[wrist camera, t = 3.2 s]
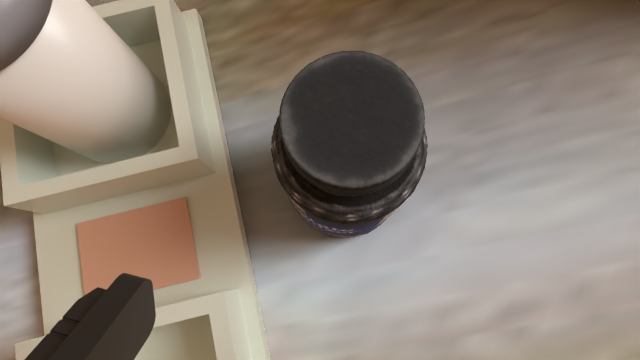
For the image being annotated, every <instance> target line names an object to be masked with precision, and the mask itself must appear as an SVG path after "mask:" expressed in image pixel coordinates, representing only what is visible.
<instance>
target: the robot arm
mask: <svg viewBox="0 0 640 360" xmlns="http://www.w3.org/2000/svg"><path fill="white" fill-rule="evenodd" d="M155 318H156V311H155V302H154V292H153V284H152V281H151V280H150V279H146V278H143V277H139V276H135V275H132V274H128V273H122V274H120V275H119V276H118V277H117V278H116V279H115V280H114V282H113V283H112V284H111V285H110V286H109V288H108V289H107V290H106V289H103V288H99V287H97V288H95V289H94V290H92V291H91V292H89V293H88V294H86V295H84V296H83V297H81V298H80V299H78V300H77V301H76V302H75V303H74V304H73V305H72V307H71V308H70V309H69V310H68V311H67V312H66V313H65V314H64V316H63V318H62V320H59V321H58V322H57V323H56V325H55V326H54V327H53V328H52V329H51V330H50V333H49V334H47V335H46V336H45V337H44V338H43V339H42V340H41V341H40V343H39V344H38V345H37V346H36V347H35V348H34V349H33V350H32V352H31V353H30V354H29V355H28V356H27V357H26V358H25V359H24V360H134V359H135V357H136V356H137V354H138V353H139V351H140V350H141V348H142V347H143V345H144V344H145V342H146V340H147V339H148V337H149V335H150V334H151V331H152V329H153V326H154V323H155Z"/></svg>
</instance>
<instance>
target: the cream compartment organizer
mask: <svg viewBox="0 0 640 360" xmlns="http://www.w3.org/2000/svg"><path fill="white" fill-rule="evenodd" d="M0 165H1V178H2V190H3V203H4V206H6V207H11V208H16V209H21V210H26V211H32V212H33V220H34V230H35V241H36V251H37V262H38V273H39V283H40V294H41V305H42V315H43V326H44V336H42V337H38V338H34V339H30V340H26V341H22V342H18V343H15V355H16V360H24V359H25V358H26V357H27V356H28V355H29V354H30V353H31V352H32V350H33V349H34V348H35V347H36V346H37V345H38V344H39V343H40V341H41V340H42V339H43V338H44V337H45V336H46V335H47V334H49V333H50V330H51V329H52V328H53V327H54V326H55V325H56V323H57V322H58V321H59V320H62V318H63V316H64V314H65V313H66V312H67V311H68V310H69V309H70V308H71V307H72V305H73V304H74V303H75V302H76V301H77V300H78V299H80V298H81V297H83V296H84V295H86V294H88V293H89V292H91V291H92V290H94V289H95V288H97V287H99V288H103V289H106V290H107V289H108V288H109V286H110V285H111V284H112V283H113V282H114V280H115V279H116V278H117V277H118V276H119V275H120V274H122V273H128V274H132V275H135V276H139V277H143V278H146V279H150V280H151V281H152V284H153V292H154V302H155V311H156V318H155V323H154V326H153V329H152V331H151V334H150V335H149V337H148V339H147V340H146V342H145V344H144V345H143V347H142V348H141V350H140V351H139V353H138V354H137V356H136V357H135V359H134V360H271V357H270V352H269V347H268V342H267V337H266V332H265V327H264V322H263V317H262V312H261V308H260V303H259V298H258V293H257V288H256V283H255V278H254V273H253V268H252V263H251V258H250V253H249V248H248V244H247V239H246V234H245V229H244V224H243V219H242V214H241V209H240V204H239V199H238V194H237V189H236V184H235V180H234V175H233V170H232V165H231V160H230V155H229V150H228V145H227V140H226V135H225V130H224V125H223V120H222V116H221V111H220V106H219V101H218V96H217V91H216V86H215V81H214V76H213V71H212V66H211V61H210V56H209V52H208V47H207V42H206V37H205V32H204V27H203V22H202V19H201V17H200V15H199V13H198V12H197V10H196V9H192V10H188V11H183V12H181V11H180V10H179V8H178V7H177V5H176V3H175V2H174V0H118V1H114V2H110V3H106V4H102V5H98V6H94V7H91V6H90V5H89V4H88V3H87V2H86V0H0Z"/></svg>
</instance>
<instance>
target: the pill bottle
mask: <svg viewBox="0 0 640 360" xmlns="http://www.w3.org/2000/svg"><path fill="white" fill-rule="evenodd" d="M424 120H425V116H424V107H423V103H422V100H421V97H420V95H419V92H418V90H417V88H416V87H415V85H414V83H413V82H412V80H411V79H410V78H409V77H408V76H407V75H406V73H405V72H404V71H403V70H402V69H401V68H399V67H398V66H397V65H395V64H394V63H392V62H391V61H389V60H387V59H385V58H383V57H381V56H378V55H375V54H372V53H367V52H362V51H342V52H337V53H332V54H329V55H326V56H323V57H321V58H319V59H317V60H315V61H314V62H311V63H310V64H308V65H307V66H306V67H305V68H304V69H302V70H301V71H300V72H299V73H298V74H297V75H296V76H295V77H294V79H293V80H292V82H291V83H290V84H289V86H288V88H287V90H286V92H285V94H284V97H283V99H282V103H281V107H280V115H279V116H278V118H277V122H276V124H275V126H274V131H273V136H272V149H271V152H272V157H273V163H274V167H275V171H276V174H277V177H278V179H279V181H280V183H281V185H282V186H283V188H284V190H285V191H286V193H287V194H288V196H289V198H290V199H291V201H292V202H293V204H294V206H295V207H296V209H297V211H298V212H299V214H300V215H301V216H302V217H303V219H304V220H305V221H306V222H307V223H308V224H309V225H311V226H312V227H313V228H315V229H317V230H318V231H320V232H322V233H325V234H328V235H330V236H334V237H353V236H358V235H363V234H367V233H369V232H371V231H372V230H374V229H375V228H377V227H378V226H380V225H381V224H382V223H383V222H384V221H385V220H386V219H387V218H388V217H389V216H390V215H391V214H392V213H393V212H394V211H395V210H396V209H397V208H398V207H399V206H400V205H401V204H402V203H403V202H404V201H405V200H406V199H407V198H408V197H409V196H410V195H411V194H412V193H413V192H414V190H415V188H416V186H417V184H418V182H419V180H420V178H421V176H422V174H423V170H424V168H425V163H426V156H427V146H428V145H427V136H426V133H425V128H424V124H425V123H424Z"/></svg>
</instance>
